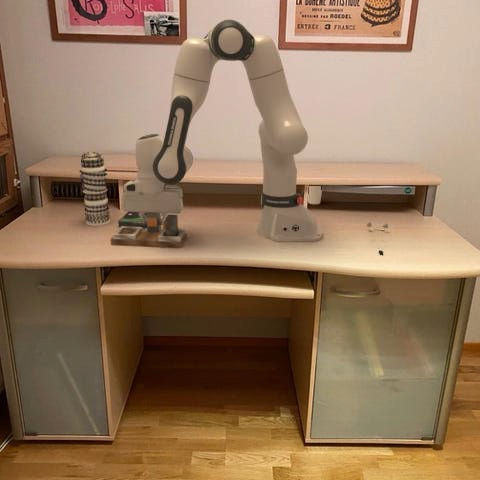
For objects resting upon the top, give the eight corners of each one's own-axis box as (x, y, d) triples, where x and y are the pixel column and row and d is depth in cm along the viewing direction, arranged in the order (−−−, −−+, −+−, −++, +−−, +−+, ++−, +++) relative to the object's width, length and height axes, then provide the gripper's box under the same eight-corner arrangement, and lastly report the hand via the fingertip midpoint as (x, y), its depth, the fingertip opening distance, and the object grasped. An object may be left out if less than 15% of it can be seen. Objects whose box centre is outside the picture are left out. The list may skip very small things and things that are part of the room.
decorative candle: (111, 225, 170) (105, 155, 161) (84, 226, 168) (76, 156, 159) (111, 217, 178) (105, 150, 169) (85, 218, 176) (78, 151, 167)
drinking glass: (305, 200, 203) (308, 165, 197) (321, 201, 202) (324, 166, 196) (305, 205, 196) (308, 169, 191) (322, 205, 196) (325, 169, 190)
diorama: (388, 229, 171) (390, 220, 170) (396, 257, 146) (398, 246, 145) (362, 227, 173) (363, 218, 171) (366, 255, 148) (367, 244, 147)
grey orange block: (149, 229, 164) (148, 210, 162) (161, 229, 164) (160, 210, 161) (146, 233, 161) (145, 213, 158) (158, 233, 160) (157, 213, 158)
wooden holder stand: (187, 239, 158) (186, 213, 154) (181, 248, 150) (181, 221, 147) (119, 235, 160) (117, 210, 157) (111, 244, 152) (108, 217, 149)
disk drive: (130, 215, 182) (118, 228, 168) (130, 208, 181) (117, 220, 167) (157, 216, 181) (147, 229, 167) (157, 209, 180) (146, 221, 166)
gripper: (184, 183, 158) (186, 222, 163) (124, 181, 161) (128, 220, 165) (180, 188, 153) (182, 228, 158) (118, 186, 155) (122, 226, 160)
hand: (153, 224), depth 162 cm, fingers closed on grey orange block, 4 cm apart
